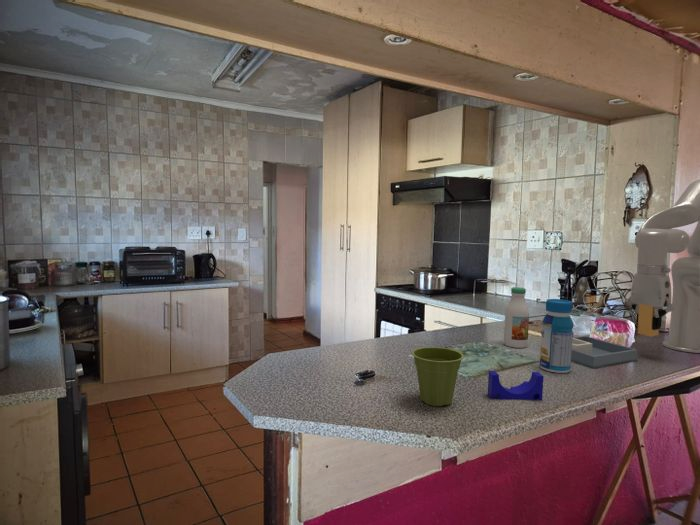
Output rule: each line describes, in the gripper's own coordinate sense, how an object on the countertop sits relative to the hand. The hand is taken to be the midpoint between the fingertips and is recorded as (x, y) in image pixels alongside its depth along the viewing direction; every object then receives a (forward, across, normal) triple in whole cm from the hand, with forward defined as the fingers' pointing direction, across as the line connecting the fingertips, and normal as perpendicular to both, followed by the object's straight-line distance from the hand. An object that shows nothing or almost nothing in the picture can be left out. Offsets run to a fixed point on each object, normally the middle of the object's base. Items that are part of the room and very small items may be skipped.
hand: (648, 326), depth 139 cm
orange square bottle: (+2, 0, 0) cm, 2 cm away
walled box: (+9, +8, +17) cm, 21 cm away
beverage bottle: (+8, +3, +38) cm, 39 cm away
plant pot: (+6, -3, +84) cm, 84 cm away
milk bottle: (+9, +26, +30) cm, 40 cm away
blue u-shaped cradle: (+7, -8, +64) cm, 65 cm away
